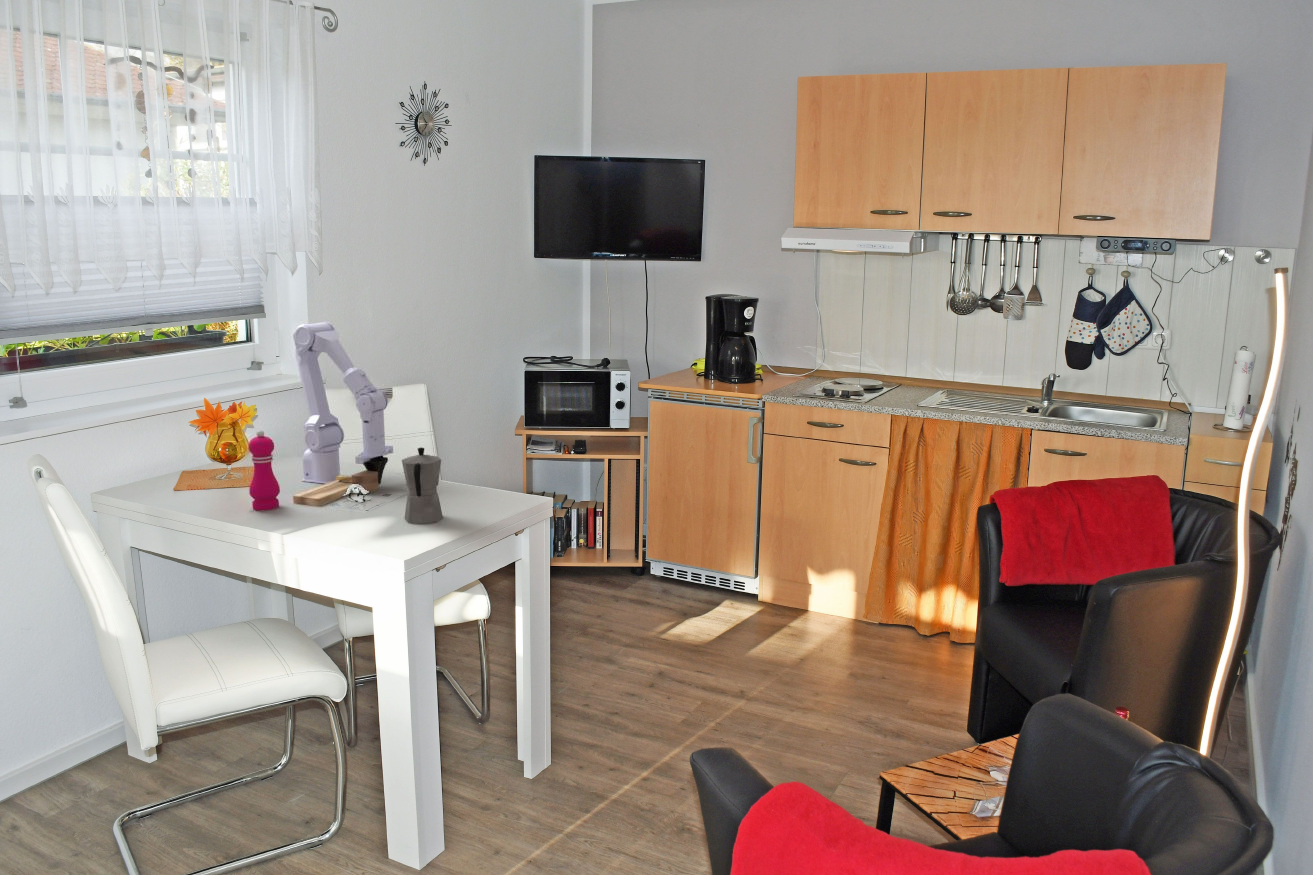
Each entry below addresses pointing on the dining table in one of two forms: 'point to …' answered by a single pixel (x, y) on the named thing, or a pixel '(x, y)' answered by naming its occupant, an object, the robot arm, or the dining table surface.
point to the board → (322, 493)
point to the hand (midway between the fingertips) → (376, 483)
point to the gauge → (363, 479)
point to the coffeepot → (422, 488)
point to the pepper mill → (263, 474)
